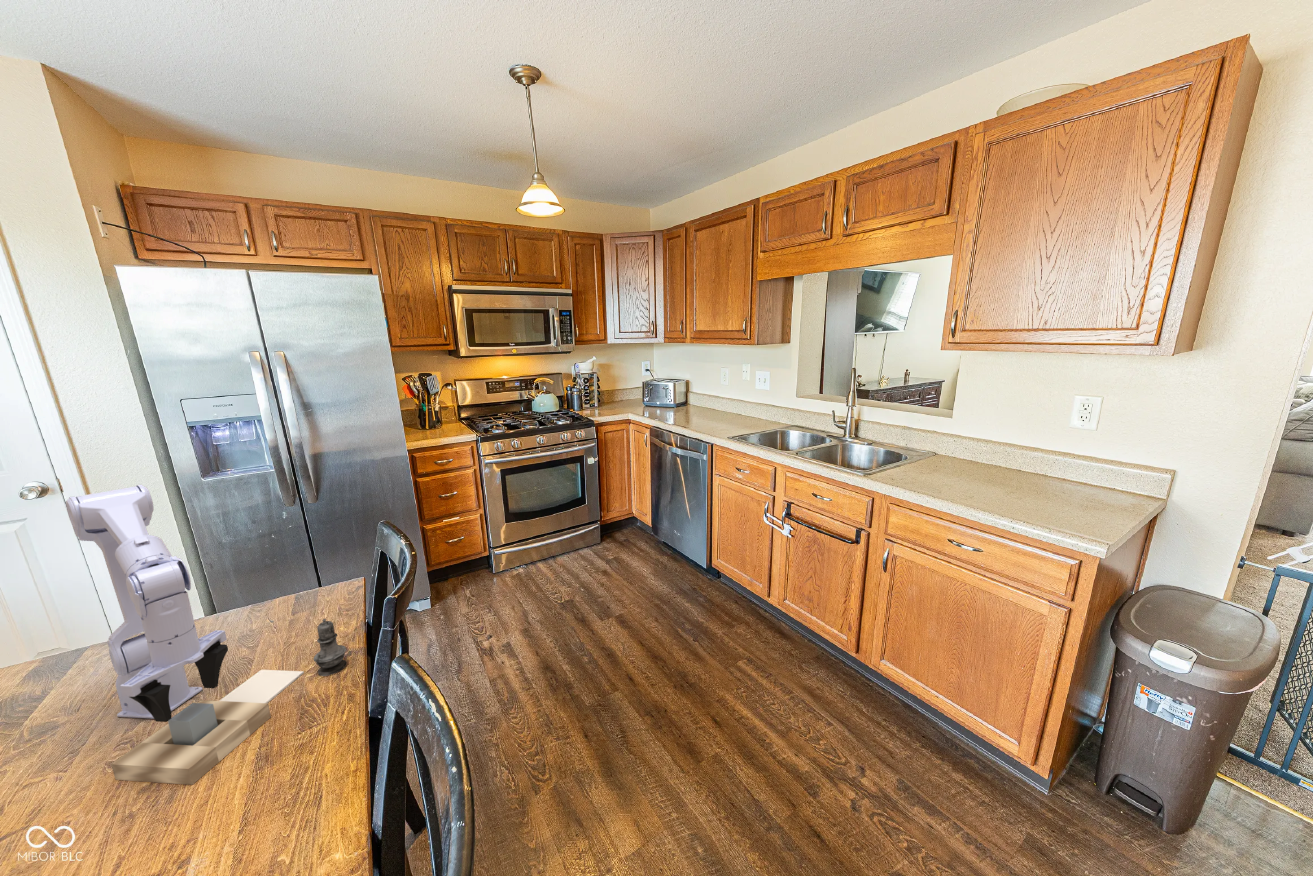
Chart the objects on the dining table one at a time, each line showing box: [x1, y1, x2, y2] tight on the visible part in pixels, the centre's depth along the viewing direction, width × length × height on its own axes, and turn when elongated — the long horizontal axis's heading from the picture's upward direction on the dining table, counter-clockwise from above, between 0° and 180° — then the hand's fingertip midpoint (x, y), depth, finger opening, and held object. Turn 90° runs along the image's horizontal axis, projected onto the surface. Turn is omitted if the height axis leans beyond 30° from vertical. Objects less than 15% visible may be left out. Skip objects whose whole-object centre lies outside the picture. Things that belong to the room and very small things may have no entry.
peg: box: [167, 702, 218, 746], centre depth 81 cm, size 4×4×7 cm
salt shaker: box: [313, 618, 348, 677], centre depth 101 cm, size 6×6×12 cm
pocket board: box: [110, 699, 272, 786], centre depth 82 cm, size 14×14×3 cm
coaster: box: [219, 669, 305, 704], centre depth 96 cm, size 10×10×1 cm
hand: (188, 702), depth 80 cm, fingers open, 7 cm apart
